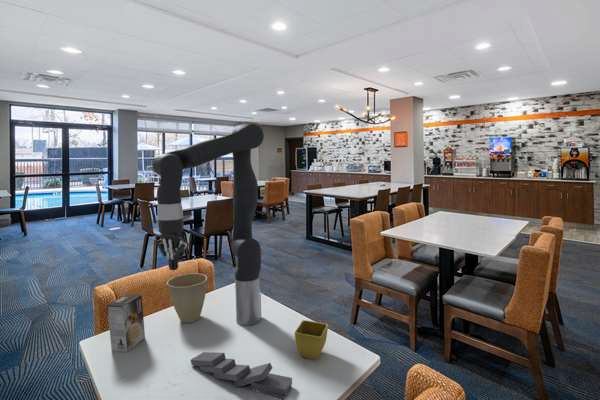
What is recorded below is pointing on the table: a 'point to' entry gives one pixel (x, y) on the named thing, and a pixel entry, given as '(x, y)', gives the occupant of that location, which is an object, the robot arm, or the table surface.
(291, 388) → the domino
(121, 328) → the coffee box
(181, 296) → the plant pot
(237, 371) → the domino
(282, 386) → the domino
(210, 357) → the domino
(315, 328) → the flower pot
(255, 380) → the domino
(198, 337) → the table surface
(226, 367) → the domino
